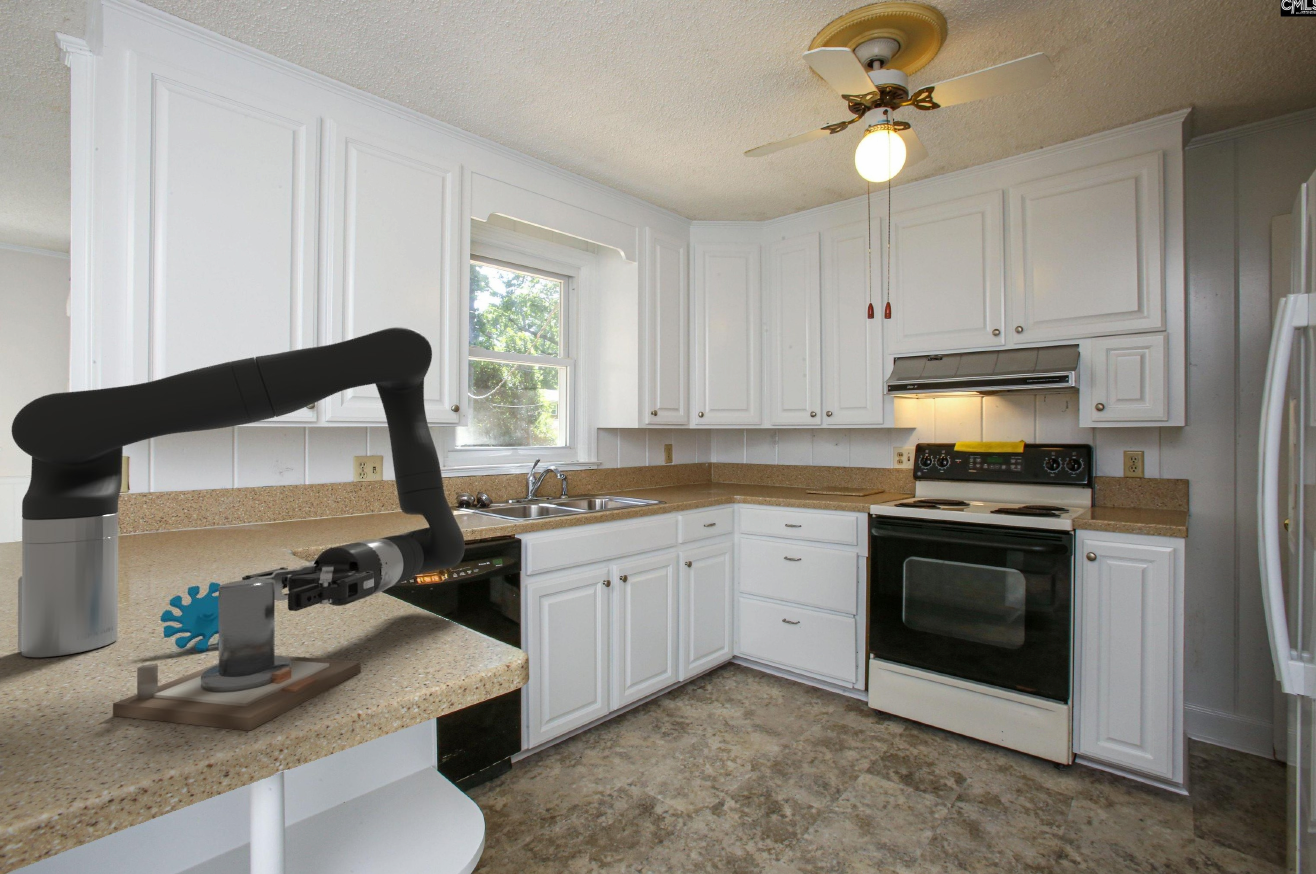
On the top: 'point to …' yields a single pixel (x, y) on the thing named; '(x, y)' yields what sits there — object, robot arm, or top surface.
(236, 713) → the mount board
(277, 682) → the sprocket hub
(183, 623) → the gear
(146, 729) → the top surface
